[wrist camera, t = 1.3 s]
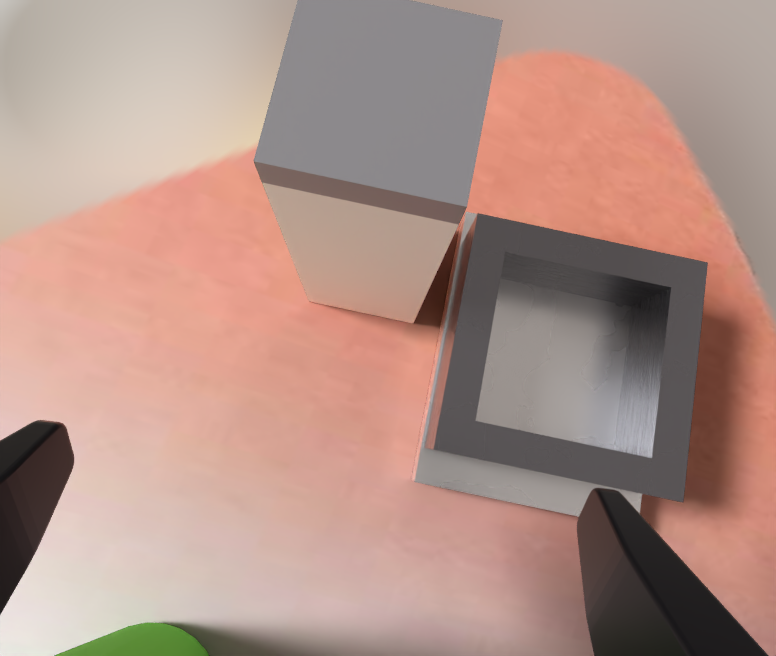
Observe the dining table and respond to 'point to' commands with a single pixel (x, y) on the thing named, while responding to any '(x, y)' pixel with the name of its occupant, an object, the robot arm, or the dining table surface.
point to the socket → (561, 368)
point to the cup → (142, 643)
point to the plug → (375, 145)
